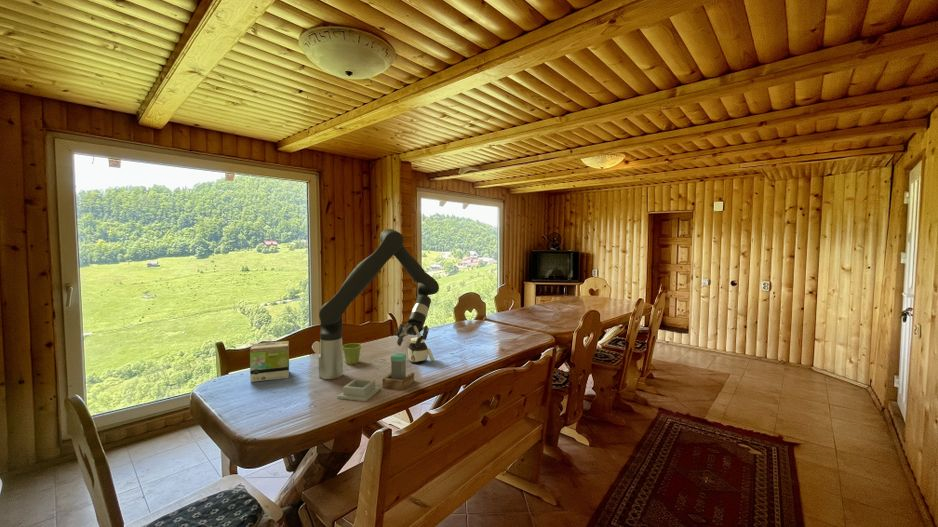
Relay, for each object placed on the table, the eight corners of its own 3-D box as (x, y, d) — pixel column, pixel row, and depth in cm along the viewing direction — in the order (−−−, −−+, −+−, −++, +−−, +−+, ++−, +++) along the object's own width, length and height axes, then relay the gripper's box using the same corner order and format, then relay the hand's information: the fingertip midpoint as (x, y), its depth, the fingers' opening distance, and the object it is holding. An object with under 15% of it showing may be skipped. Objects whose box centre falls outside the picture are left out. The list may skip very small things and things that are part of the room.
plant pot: (358, 365, 183) (358, 348, 183) (339, 365, 183) (339, 348, 183) (364, 359, 193) (364, 343, 192) (346, 359, 193) (345, 343, 192)
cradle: (382, 387, 156) (382, 379, 156) (392, 378, 166) (392, 371, 166) (405, 389, 154) (405, 381, 154) (414, 380, 164) (414, 372, 163)
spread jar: (405, 361, 191) (405, 338, 190) (424, 356, 198) (423, 334, 198) (419, 366, 182) (419, 343, 181) (438, 361, 190) (438, 338, 189)
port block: (337, 398, 145) (337, 388, 145) (353, 386, 157) (353, 377, 157) (365, 401, 143) (365, 391, 142) (380, 389, 154) (380, 379, 154)
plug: (391, 382, 158) (390, 356, 157) (395, 378, 163) (395, 352, 162) (401, 383, 157) (401, 357, 156) (406, 379, 162) (406, 353, 161)
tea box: (250, 383, 161) (249, 349, 160) (252, 375, 170) (251, 343, 169) (289, 378, 167) (288, 345, 166) (289, 371, 176) (288, 339, 175)
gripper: (402, 310, 177) (390, 340, 167) (430, 311, 172) (419, 342, 162) (407, 319, 182) (396, 348, 172) (434, 320, 178) (424, 351, 168)
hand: (407, 345), depth 167 cm, fingers open, 8 cm apart
